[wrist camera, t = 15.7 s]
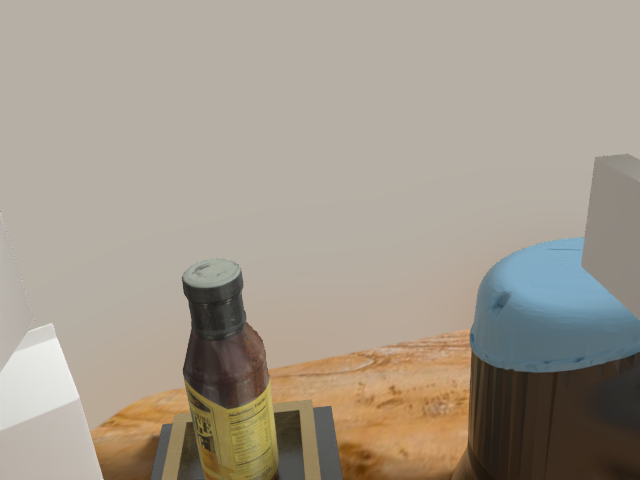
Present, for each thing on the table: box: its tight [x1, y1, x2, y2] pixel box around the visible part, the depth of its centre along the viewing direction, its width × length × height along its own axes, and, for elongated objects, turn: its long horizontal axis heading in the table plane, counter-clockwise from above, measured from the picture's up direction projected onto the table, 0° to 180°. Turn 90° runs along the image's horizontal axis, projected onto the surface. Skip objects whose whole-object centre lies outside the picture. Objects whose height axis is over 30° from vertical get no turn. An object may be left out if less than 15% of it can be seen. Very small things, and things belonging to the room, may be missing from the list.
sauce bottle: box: [182, 259, 279, 480], centre depth 45 cm, size 7×6×20 cm
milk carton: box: [0, 323, 104, 480], centre depth 42 cm, size 7×7×19 cm
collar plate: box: [150, 400, 343, 480], centre depth 49 cm, size 16×16×4 cm
